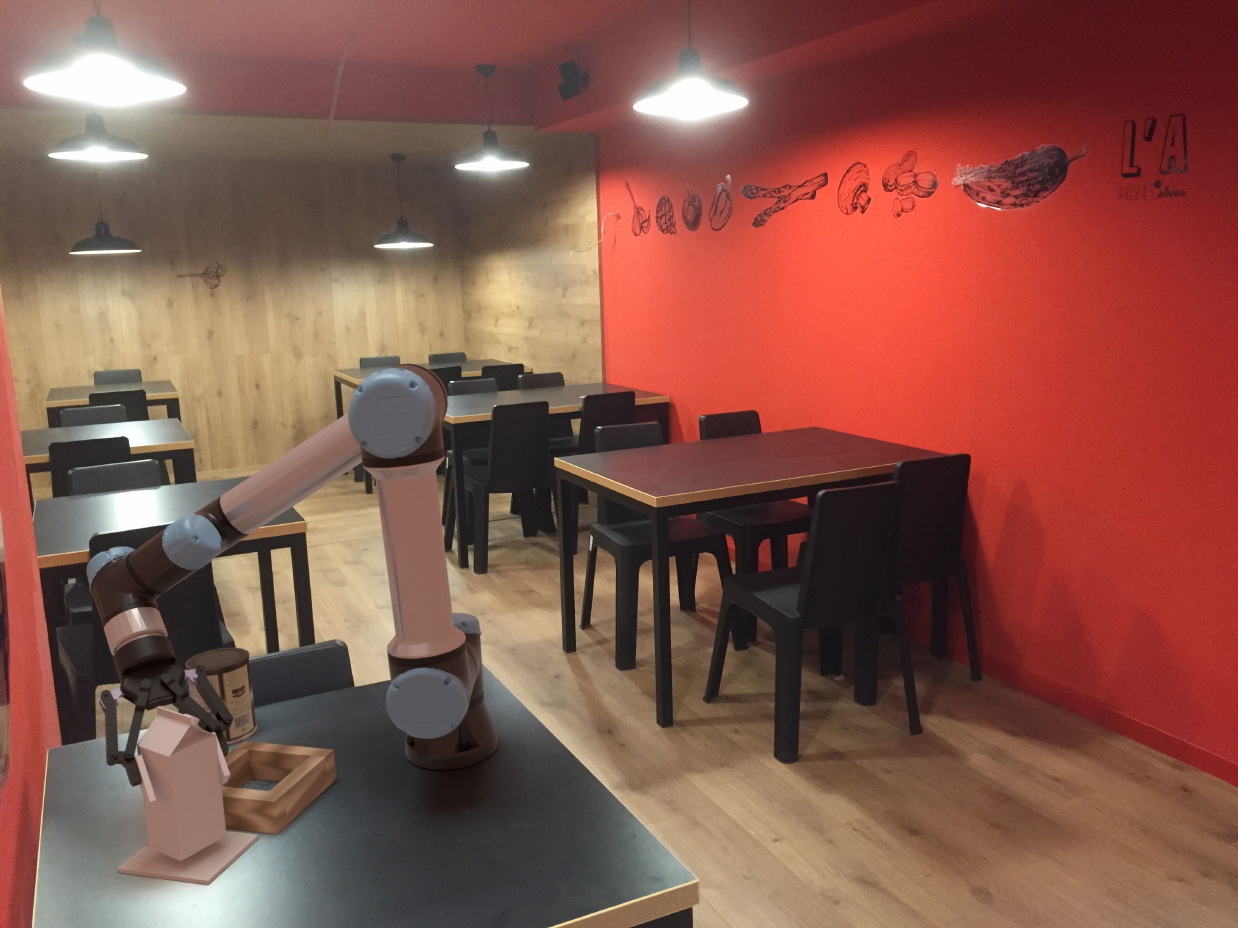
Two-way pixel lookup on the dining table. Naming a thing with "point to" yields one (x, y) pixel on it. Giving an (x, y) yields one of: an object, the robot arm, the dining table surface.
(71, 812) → the dining table surface
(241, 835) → the pink mat
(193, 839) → the milk carton
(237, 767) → the frame
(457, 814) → the dining table surface
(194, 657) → the coffee can
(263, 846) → the dining table surface
